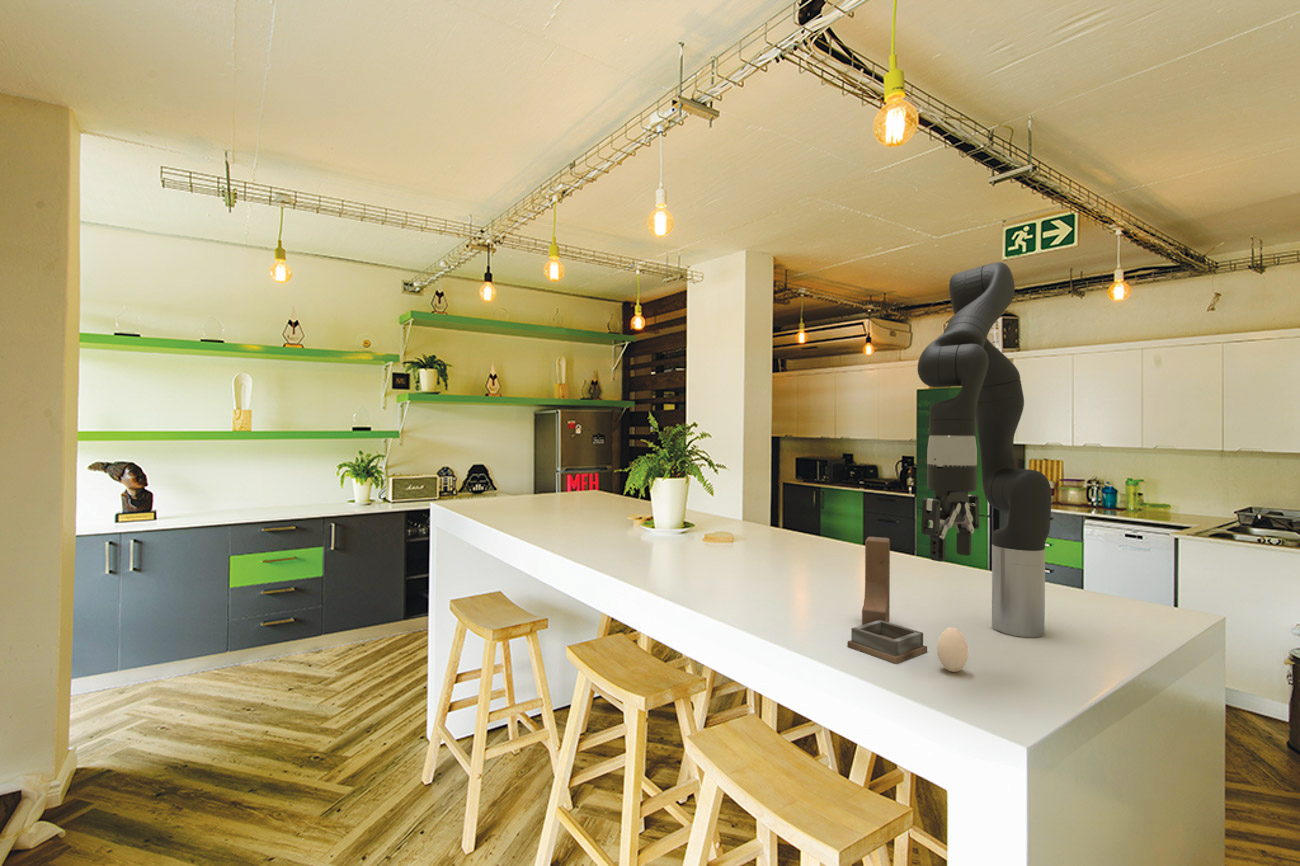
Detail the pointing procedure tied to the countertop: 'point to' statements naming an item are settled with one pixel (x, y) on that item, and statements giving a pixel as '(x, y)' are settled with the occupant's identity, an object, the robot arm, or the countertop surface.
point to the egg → (952, 649)
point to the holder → (887, 641)
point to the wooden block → (876, 580)
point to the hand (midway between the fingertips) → (950, 557)
